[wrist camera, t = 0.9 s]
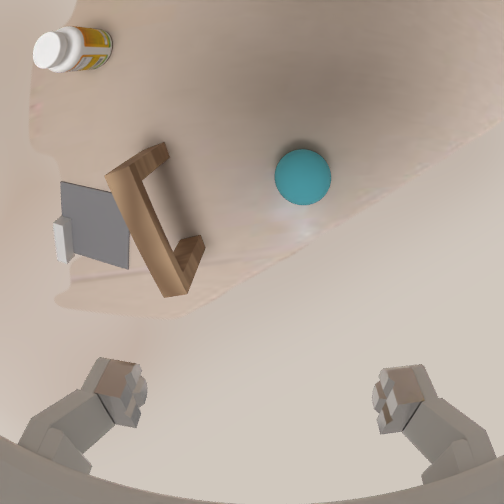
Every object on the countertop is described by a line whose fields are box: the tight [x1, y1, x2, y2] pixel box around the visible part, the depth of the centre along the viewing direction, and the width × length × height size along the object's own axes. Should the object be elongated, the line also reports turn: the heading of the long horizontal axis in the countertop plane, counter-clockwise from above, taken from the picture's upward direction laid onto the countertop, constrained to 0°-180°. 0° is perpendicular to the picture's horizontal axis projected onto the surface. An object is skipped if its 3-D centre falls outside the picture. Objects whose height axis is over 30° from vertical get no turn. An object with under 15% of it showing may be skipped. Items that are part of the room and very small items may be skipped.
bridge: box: [105, 142, 205, 298], centre depth 34 cm, size 3×15×10 cm, turn 16°
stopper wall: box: [53, 216, 75, 264], centre depth 41 cm, size 7×2×2 cm, turn 166°
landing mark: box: [60, 181, 129, 269], centre depth 41 cm, size 12×12×1 cm
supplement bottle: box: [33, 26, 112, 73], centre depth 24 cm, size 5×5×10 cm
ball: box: [275, 149, 331, 205], centre depth 32 cm, size 6×6×6 cm
